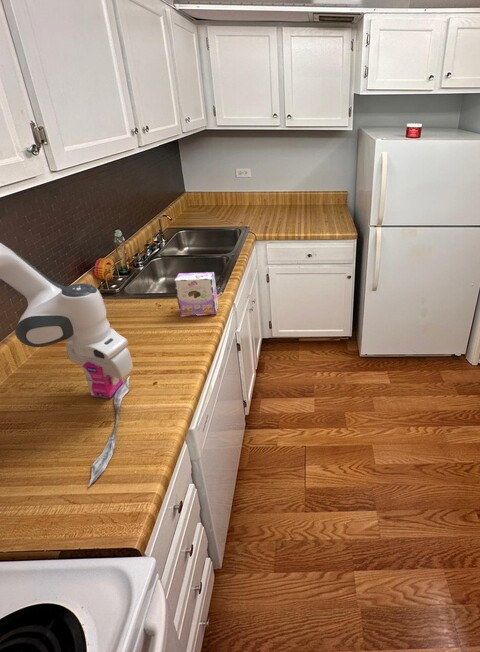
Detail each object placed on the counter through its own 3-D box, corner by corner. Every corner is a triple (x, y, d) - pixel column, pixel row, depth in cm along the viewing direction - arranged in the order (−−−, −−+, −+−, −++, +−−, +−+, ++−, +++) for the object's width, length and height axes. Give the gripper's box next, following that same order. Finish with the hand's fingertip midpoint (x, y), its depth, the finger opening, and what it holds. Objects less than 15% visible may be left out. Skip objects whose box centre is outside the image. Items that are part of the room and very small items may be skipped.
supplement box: (90, 397, 93) (80, 365, 89) (106, 381, 98) (97, 350, 94) (109, 400, 92) (100, 368, 88) (124, 383, 97) (116, 352, 93)
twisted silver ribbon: (85, 489, 71) (111, 480, 73) (85, 487, 71) (111, 479, 73) (114, 379, 99) (132, 375, 101) (114, 377, 99) (132, 373, 101)
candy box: (219, 307, 135) (214, 271, 129) (216, 315, 129) (211, 278, 123) (184, 308, 133) (178, 272, 128) (179, 317, 128) (173, 280, 122)
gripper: (54, 338, 89) (67, 377, 94) (111, 357, 83) (122, 398, 88) (76, 324, 94) (88, 362, 100) (132, 341, 88) (141, 380, 93)
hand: (104, 379), depth 94 cm, fingers closed on supplement box, 6 cm apart
